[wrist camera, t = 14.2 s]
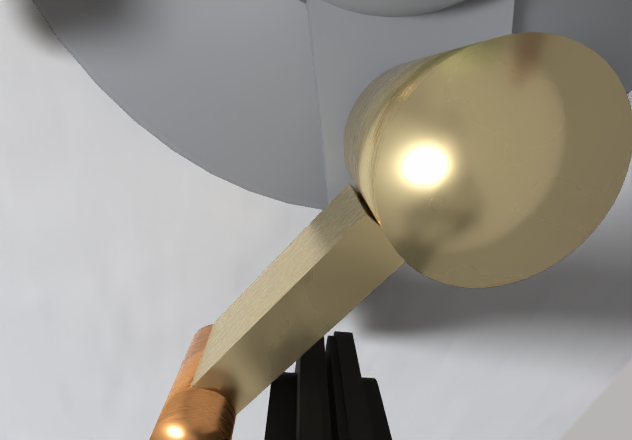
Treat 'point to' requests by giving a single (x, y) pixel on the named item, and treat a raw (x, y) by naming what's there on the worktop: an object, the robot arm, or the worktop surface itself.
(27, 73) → the worktop surface
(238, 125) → the tribrach
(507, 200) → the knob
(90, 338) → the worktop surface
